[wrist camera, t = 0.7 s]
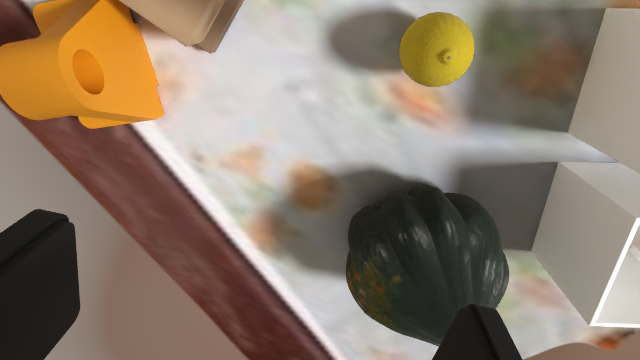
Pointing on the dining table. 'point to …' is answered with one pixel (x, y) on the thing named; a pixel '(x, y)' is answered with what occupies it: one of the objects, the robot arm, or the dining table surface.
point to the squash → (424, 261)
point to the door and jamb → (190, 19)
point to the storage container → (600, 186)
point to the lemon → (436, 49)
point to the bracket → (81, 66)
